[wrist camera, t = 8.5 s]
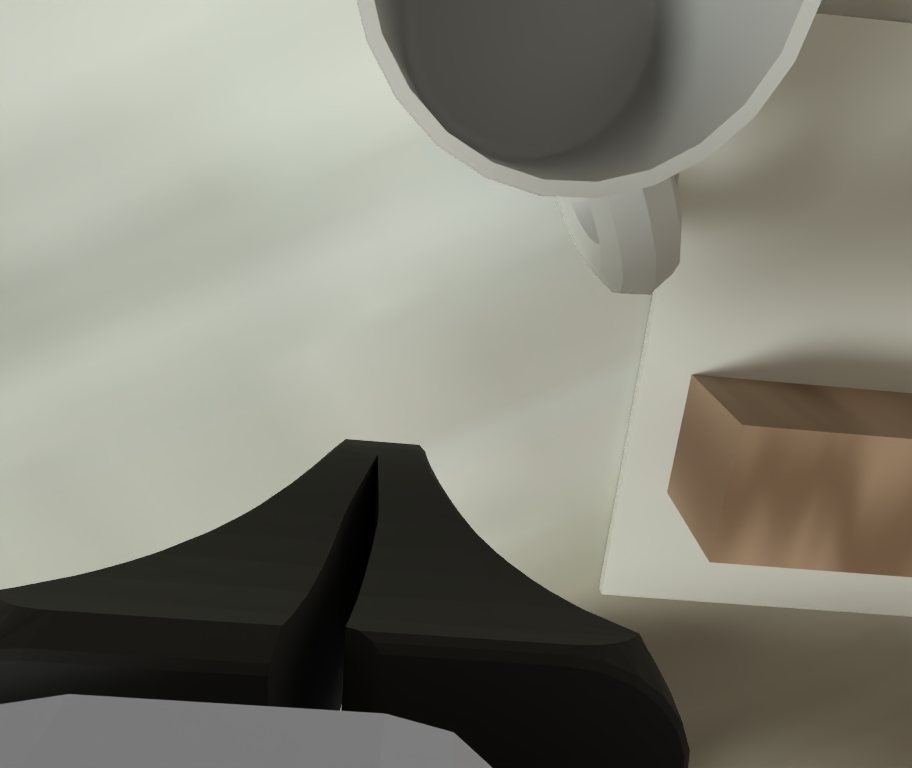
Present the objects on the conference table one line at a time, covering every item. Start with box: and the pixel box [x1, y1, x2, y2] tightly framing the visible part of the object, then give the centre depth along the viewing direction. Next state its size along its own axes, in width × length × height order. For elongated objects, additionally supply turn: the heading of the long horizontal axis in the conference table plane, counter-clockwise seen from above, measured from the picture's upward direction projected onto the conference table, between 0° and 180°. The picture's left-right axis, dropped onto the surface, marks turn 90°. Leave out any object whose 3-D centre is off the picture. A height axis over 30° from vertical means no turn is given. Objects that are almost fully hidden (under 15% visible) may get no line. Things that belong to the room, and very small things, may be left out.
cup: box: [357, 0, 822, 295], centre depth 15 cm, size 7×10×9 cm
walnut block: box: [667, 375, 912, 577], centre depth 21 cm, size 4×4×8 cm
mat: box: [599, 13, 912, 617], centre depth 22 cm, size 18×16×1 cm
